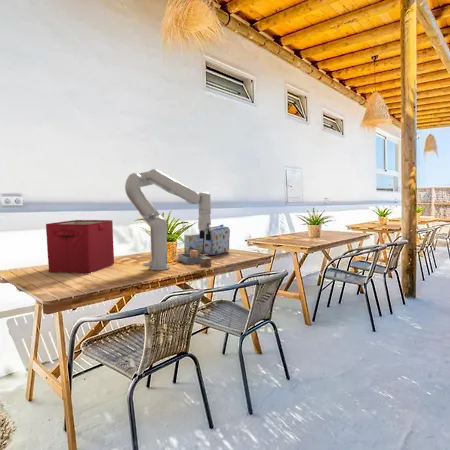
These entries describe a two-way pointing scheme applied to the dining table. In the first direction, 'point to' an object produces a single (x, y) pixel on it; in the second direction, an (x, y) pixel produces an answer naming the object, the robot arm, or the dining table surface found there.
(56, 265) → the storage cube
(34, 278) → the dining table surface
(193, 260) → the tote
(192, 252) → the terracotta cylinder
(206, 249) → the lunch box
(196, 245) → the snack box
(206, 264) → the walnut cube
